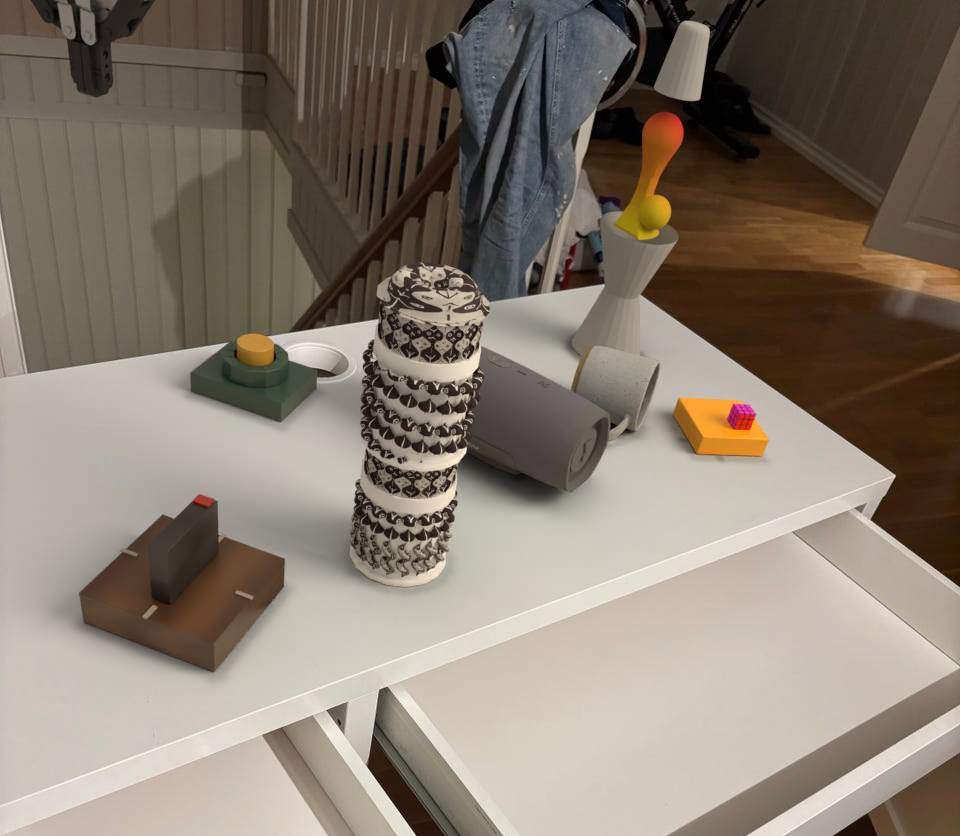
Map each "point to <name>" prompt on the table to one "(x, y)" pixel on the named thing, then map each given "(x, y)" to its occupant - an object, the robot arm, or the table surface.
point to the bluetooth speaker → (535, 425)
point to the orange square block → (720, 426)
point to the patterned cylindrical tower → (416, 421)
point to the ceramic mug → (617, 385)
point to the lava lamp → (644, 207)
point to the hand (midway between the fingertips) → (94, 93)
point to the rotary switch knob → (183, 548)
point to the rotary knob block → (185, 600)
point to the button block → (254, 382)
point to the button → (255, 349)
